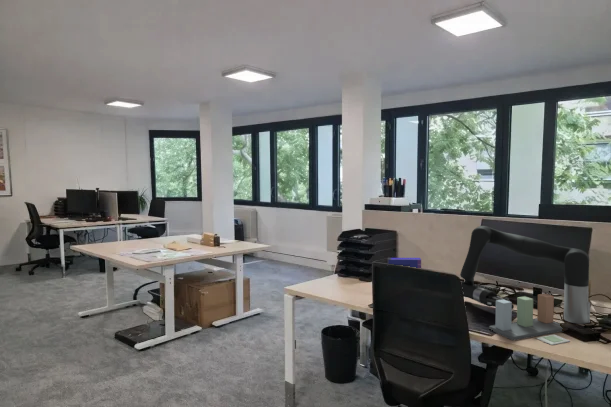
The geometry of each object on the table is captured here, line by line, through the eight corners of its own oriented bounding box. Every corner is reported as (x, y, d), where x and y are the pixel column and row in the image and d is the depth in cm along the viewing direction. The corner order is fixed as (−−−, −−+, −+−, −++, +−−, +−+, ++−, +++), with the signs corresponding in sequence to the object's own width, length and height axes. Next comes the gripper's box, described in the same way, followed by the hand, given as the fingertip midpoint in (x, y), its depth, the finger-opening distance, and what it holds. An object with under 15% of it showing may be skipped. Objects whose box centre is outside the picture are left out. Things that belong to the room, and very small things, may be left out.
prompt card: (554, 335, 168) (554, 333, 168) (570, 341, 162) (570, 340, 162) (536, 338, 165) (536, 337, 165) (551, 345, 159) (551, 343, 159)
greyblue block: (503, 325, 176) (503, 299, 175) (511, 329, 172) (511, 302, 171) (495, 327, 174) (495, 300, 174) (503, 330, 170) (503, 303, 170)
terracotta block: (544, 318, 183) (545, 293, 182) (553, 322, 179) (553, 296, 178) (537, 320, 182) (537, 294, 181) (545, 323, 178) (546, 297, 177)
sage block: (524, 322, 180) (524, 296, 179) (532, 325, 175) (533, 299, 175) (516, 323, 178) (517, 297, 177) (525, 327, 174) (525, 300, 173)
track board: (542, 320, 186) (542, 317, 186) (568, 330, 174) (568, 326, 173) (489, 329, 176) (489, 326, 176) (512, 340, 164) (512, 336, 164)
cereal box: (419, 300, 220) (419, 257, 219) (421, 302, 215) (421, 259, 214) (387, 299, 222) (387, 257, 220) (388, 302, 217) (388, 259, 216)
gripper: (474, 290, 197) (501, 300, 181) (495, 288, 201) (523, 297, 185) (473, 305, 198) (500, 316, 181) (495, 302, 202) (523, 313, 185)
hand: (512, 307), depth 183 cm, fingers closed
